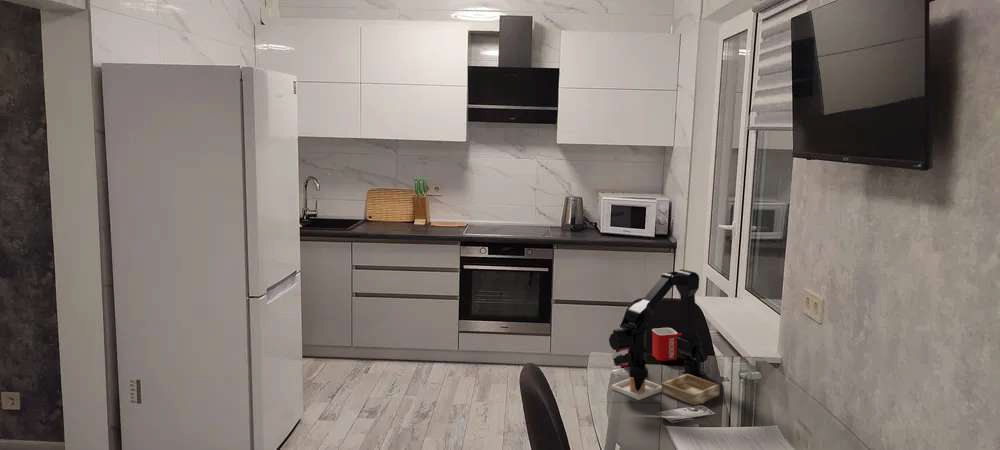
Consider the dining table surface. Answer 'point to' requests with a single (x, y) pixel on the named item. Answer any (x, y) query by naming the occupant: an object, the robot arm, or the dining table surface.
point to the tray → (625, 389)
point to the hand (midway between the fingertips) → (637, 387)
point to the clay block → (633, 388)
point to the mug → (665, 344)
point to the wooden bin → (690, 389)
